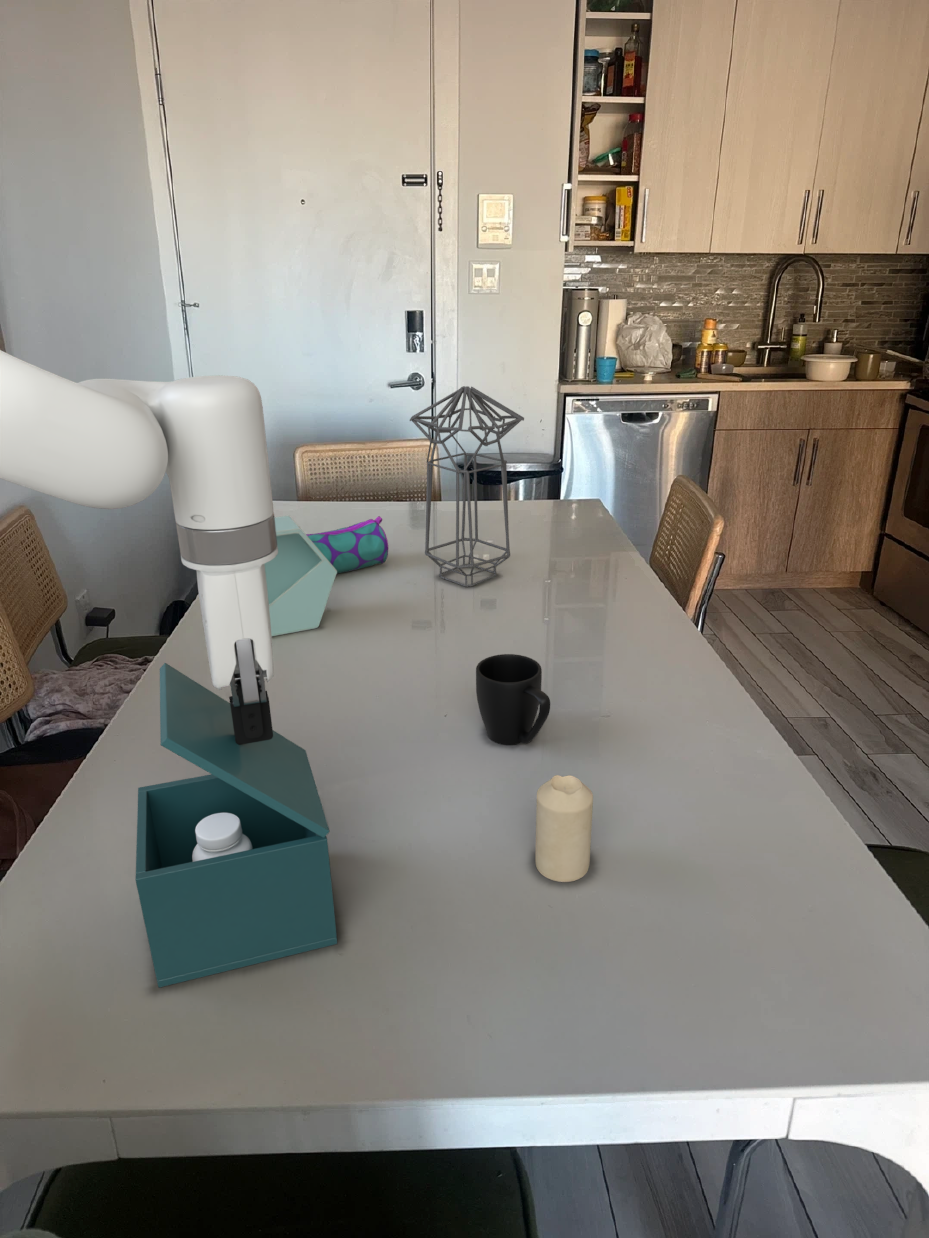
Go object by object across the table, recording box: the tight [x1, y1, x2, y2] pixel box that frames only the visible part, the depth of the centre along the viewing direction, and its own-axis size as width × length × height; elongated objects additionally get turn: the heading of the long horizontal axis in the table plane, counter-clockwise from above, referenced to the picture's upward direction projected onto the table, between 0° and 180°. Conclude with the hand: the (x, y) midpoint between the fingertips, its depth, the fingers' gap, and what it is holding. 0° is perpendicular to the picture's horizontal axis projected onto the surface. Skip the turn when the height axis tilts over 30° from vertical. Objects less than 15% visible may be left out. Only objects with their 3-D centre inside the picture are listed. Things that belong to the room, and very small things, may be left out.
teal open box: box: [134, 773, 338, 988], centre depth 81 cm, size 16×14×12 cm
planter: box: [265, 515, 337, 637], centre depth 141 cm, size 17×8×21 cm
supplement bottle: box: [192, 813, 253, 862], centre depth 81 cm, size 5×5×10 cm
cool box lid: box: [159, 662, 330, 838], centre depth 76 cm, size 16×14×1 cm
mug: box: [475, 653, 551, 746], centre depth 109 cm, size 8×12×10 cm
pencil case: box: [305, 515, 389, 575], centre depth 166 cm, size 21×9×10 cm, turn 116°
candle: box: [534, 774, 594, 883], centre depth 87 cm, size 6×6×10 cm
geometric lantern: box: [409, 385, 525, 588], centre depth 157 cm, size 16×16×35 cm
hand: (254, 737), depth 76 cm, fingers closed
